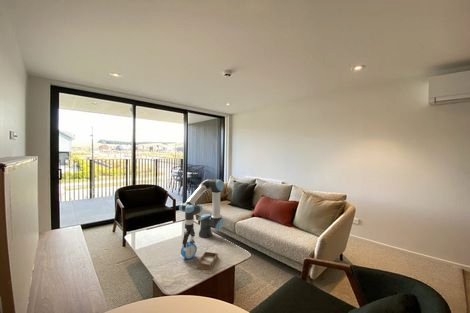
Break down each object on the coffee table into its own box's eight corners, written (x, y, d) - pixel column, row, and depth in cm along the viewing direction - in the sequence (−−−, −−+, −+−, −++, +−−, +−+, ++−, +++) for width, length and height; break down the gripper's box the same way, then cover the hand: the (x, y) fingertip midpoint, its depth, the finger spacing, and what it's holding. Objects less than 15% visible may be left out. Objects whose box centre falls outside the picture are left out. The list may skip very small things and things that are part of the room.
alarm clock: (183, 261, 168) (184, 244, 168) (180, 258, 173) (180, 242, 172) (196, 256, 177) (197, 240, 177) (193, 253, 182) (193, 237, 182)
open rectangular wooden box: (205, 255, 179) (205, 251, 179) (217, 257, 176) (217, 253, 176) (196, 267, 160) (196, 263, 160) (210, 270, 158) (210, 265, 158)
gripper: (191, 218, 187) (190, 240, 188) (178, 228, 163) (178, 253, 163) (198, 219, 186) (198, 241, 186) (187, 229, 161) (186, 254, 162)
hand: (188, 247), depth 175 cm, fingers open, 13 cm apart
